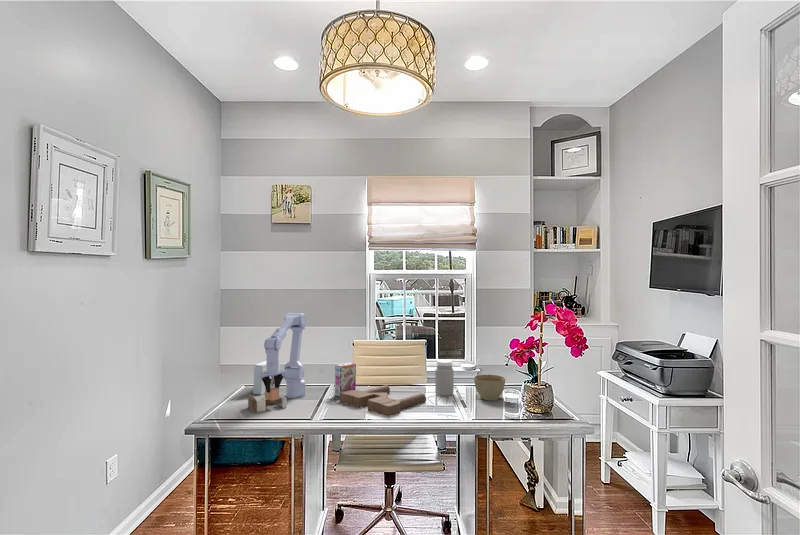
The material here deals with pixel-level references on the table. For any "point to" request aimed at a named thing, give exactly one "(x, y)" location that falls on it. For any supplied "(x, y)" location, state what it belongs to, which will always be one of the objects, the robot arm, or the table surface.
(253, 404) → the wooden shelf
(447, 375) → the jar
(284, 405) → the grey rectangular block
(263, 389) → the skincare box
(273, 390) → the salmon orange block
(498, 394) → the planter bowl
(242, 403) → the table surface
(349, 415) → the table surface
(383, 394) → the bookends
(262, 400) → the cream book
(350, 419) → the table surface
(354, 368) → the candy bar box
